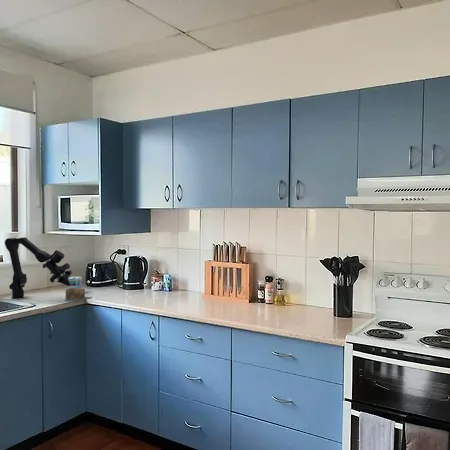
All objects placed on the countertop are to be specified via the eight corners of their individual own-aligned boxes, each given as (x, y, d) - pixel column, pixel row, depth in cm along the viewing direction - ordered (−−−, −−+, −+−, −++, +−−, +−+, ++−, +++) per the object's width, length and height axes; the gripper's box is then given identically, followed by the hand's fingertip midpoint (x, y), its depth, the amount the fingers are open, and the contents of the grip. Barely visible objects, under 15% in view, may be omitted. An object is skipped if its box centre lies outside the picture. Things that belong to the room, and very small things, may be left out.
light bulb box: (77, 294, 309) (77, 278, 309) (67, 294, 309) (67, 278, 309) (82, 291, 320) (82, 276, 319) (73, 291, 320) (72, 276, 320)
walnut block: (65, 289, 290) (80, 290, 288) (70, 288, 296) (84, 288, 294) (65, 299, 290) (80, 299, 288) (70, 297, 296) (84, 297, 294)
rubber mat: (64, 300, 287) (64, 300, 287) (74, 297, 299) (74, 296, 299) (82, 301, 285) (82, 300, 285) (91, 297, 296) (91, 296, 296)
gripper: (53, 261, 284) (70, 279, 282) (69, 258, 302) (85, 274, 300) (42, 273, 285) (59, 291, 284) (58, 269, 304) (74, 286, 302)
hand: (69, 285), depth 292 cm, fingers closed
